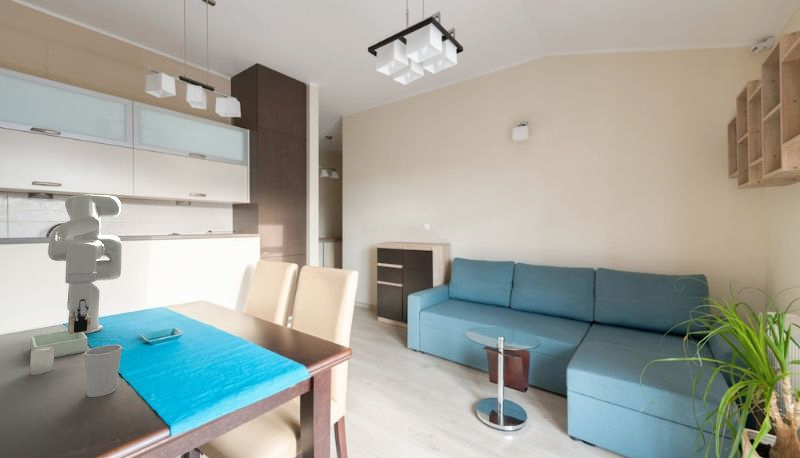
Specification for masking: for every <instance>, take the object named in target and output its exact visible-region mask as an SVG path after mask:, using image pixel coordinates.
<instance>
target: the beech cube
mask: <svg viewBox="0 0 800 458" xmlns="http://www.w3.org/2000/svg"><path fill="white" fill-rule="evenodd" d="M67 319H68V320H67V321H68V322H67V329H68V332H69V333H70V334H74V333H75V332H74V321H75V315H74V316H69V315H68V318H67ZM87 319H88V321H87V331H90V327H91V316H90V315H89V314H87ZM83 332H86V331H83ZM77 333H80V332H77Z"/></svg>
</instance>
